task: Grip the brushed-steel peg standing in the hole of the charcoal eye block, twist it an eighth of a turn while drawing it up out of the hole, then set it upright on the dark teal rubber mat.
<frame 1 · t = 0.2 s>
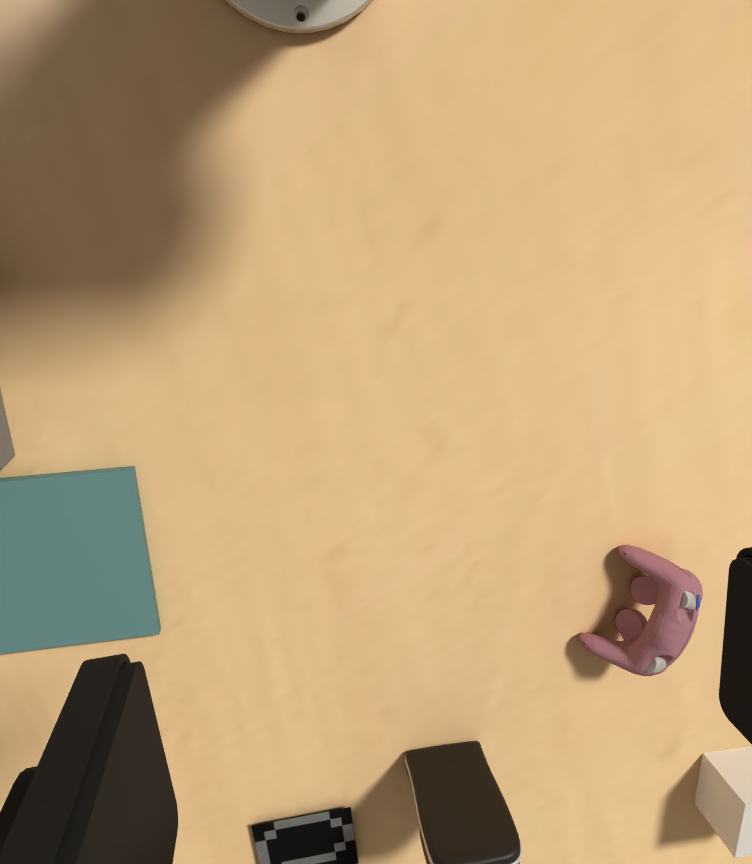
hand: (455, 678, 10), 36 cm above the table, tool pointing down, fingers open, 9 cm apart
mat: (53, 560, 47), on the table
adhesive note: (725, 771, 63), on the table
video game controller: (623, 595, 55), on the table
battery charger: (441, 758, 58), on the table
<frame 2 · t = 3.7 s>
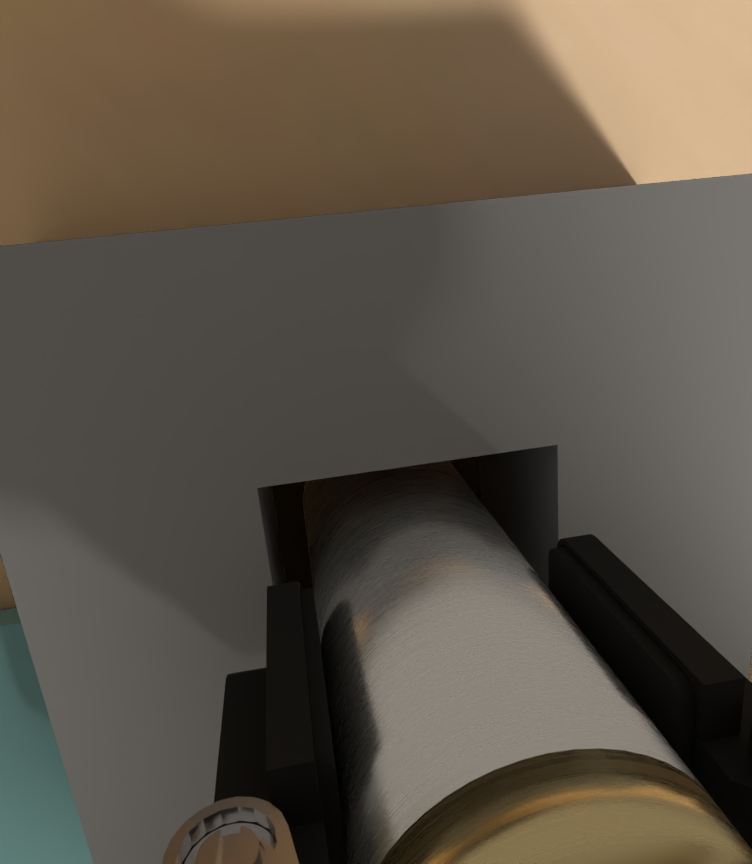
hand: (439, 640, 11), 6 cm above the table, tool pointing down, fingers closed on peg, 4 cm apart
eye block: (380, 497, 17), on the table
peg: (380, 497, 17), resting in eye block, touching gripper
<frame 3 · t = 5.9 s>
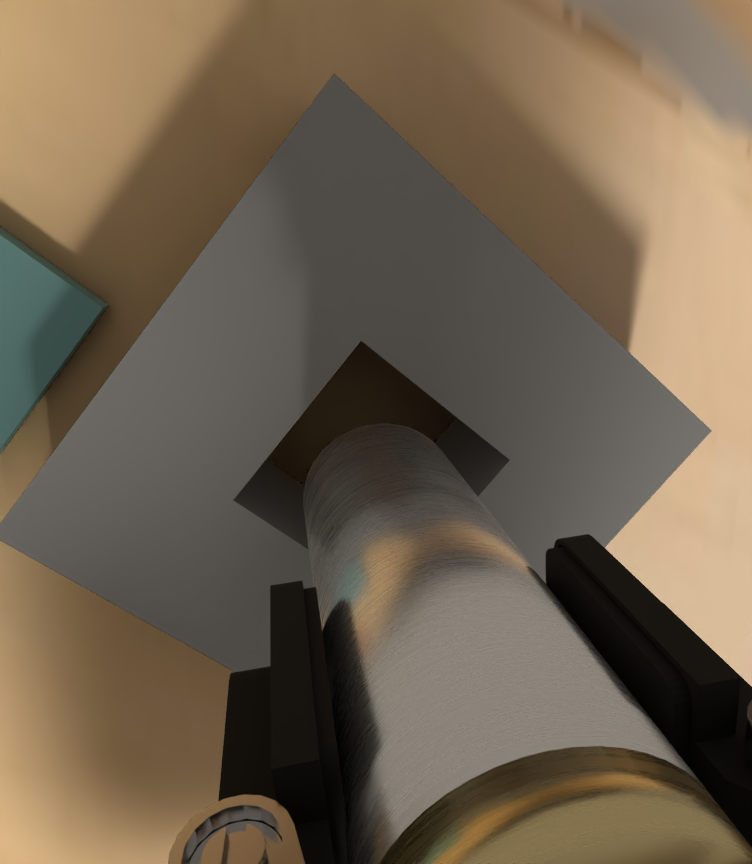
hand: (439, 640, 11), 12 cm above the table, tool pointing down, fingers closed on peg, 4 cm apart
eye block: (352, 426, 23), on the table
peg: (380, 496, 17), point 6 cm above the table, touching gripper
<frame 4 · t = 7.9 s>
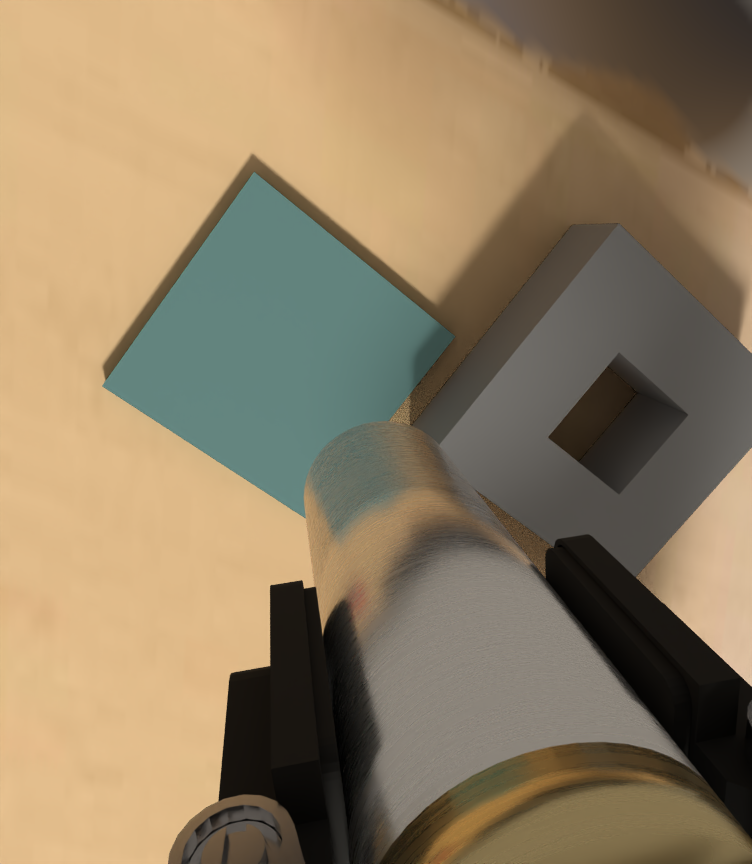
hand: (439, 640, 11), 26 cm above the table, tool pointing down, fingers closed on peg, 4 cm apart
mat: (283, 357, 35), on the table
eye block: (576, 402, 38), on the table
peg: (381, 495, 17), point 19 cm above the table, touching gripper
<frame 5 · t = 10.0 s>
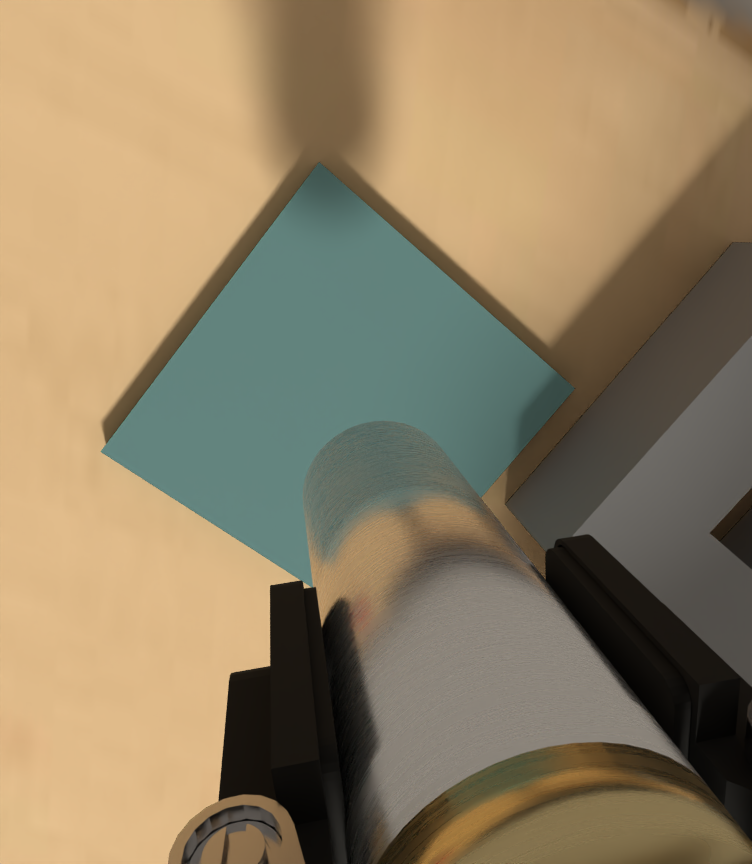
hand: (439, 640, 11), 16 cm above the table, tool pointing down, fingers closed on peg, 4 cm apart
mat: (345, 413, 26), on the table
eye block: (718, 472, 29), on the table
peg: (380, 494, 17), point 9 cm above the table, touching gripper
when the fingers open (8 cm above the table, at t = 11.7 s): peg drops 1 cm, resting on mat.
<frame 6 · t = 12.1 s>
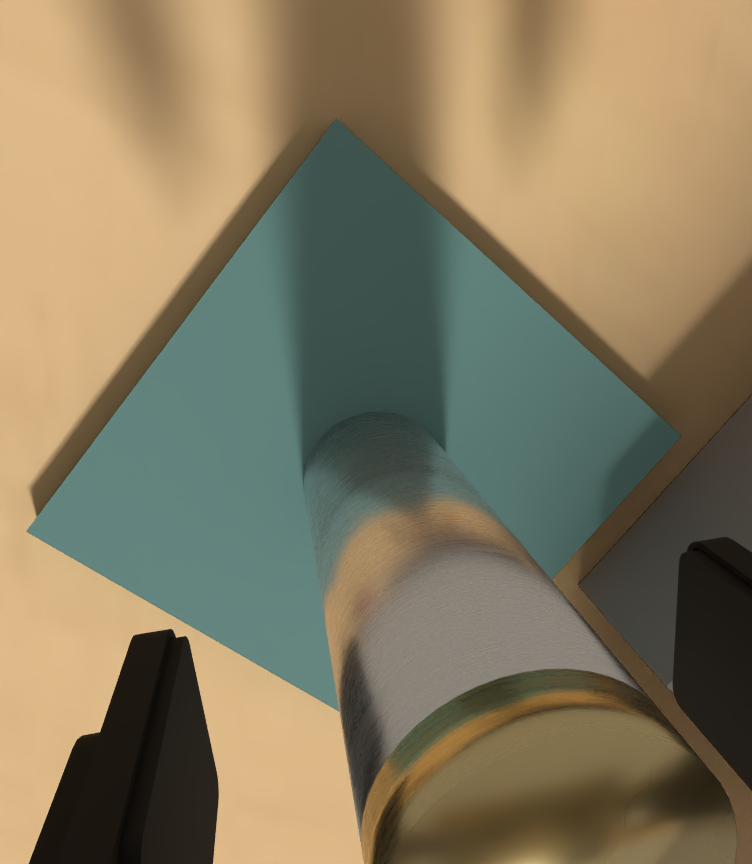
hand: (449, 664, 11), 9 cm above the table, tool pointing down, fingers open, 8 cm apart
mat: (369, 470, 19), on the table
peg: (375, 481, 18), point 1 cm above the table, touching mat
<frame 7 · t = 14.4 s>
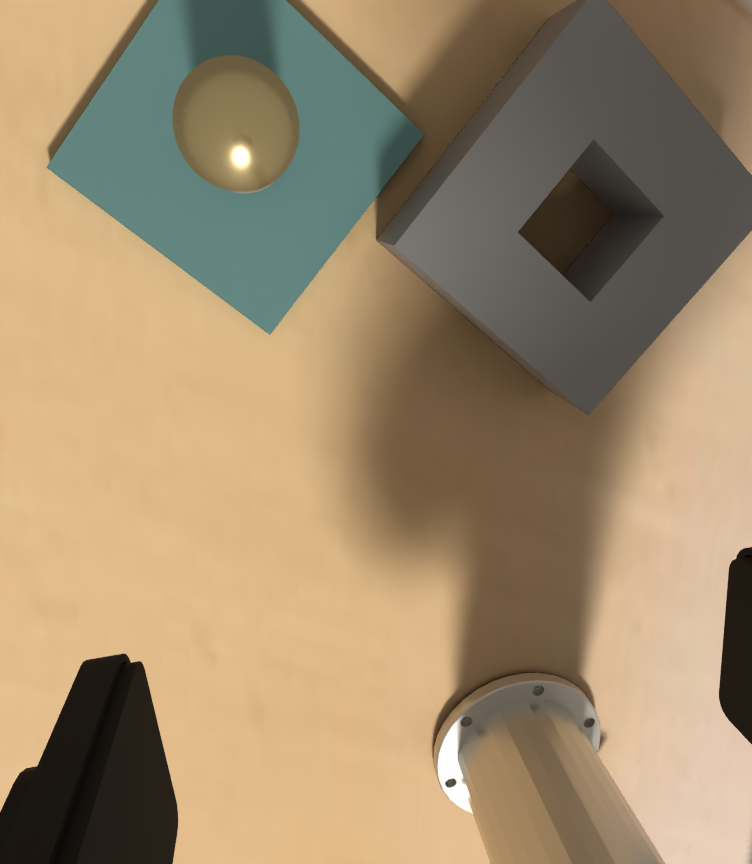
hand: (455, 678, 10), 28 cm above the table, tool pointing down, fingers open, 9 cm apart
mat: (242, 151, 33), on the table
eye block: (549, 221, 37), on the table
peg: (243, 150, 32), point 1 cm above the table, touching mat
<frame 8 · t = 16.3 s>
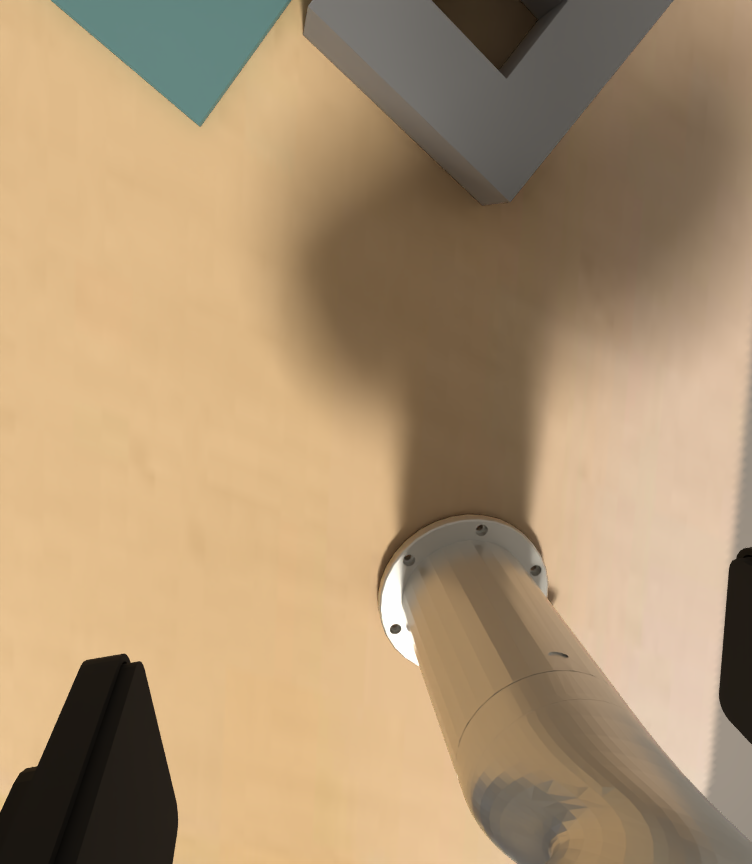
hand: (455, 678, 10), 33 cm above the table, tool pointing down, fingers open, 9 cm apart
eye block: (474, 23, 38), on the table
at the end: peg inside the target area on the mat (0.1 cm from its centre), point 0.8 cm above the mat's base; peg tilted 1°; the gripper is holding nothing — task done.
